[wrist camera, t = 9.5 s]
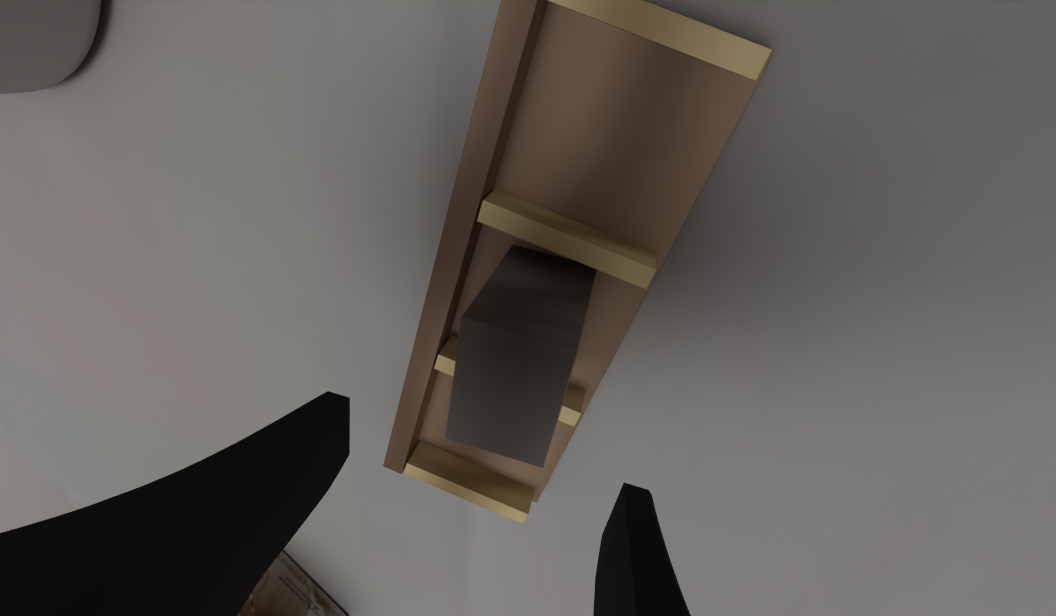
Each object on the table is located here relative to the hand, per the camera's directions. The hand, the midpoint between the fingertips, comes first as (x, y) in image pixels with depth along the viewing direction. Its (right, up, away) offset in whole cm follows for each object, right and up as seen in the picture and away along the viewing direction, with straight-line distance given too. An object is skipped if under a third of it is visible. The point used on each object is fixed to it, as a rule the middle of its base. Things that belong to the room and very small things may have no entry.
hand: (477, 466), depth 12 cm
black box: (+2, +4, +8) cm, 9 cm away
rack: (+2, +5, +8) cm, 10 cm away
